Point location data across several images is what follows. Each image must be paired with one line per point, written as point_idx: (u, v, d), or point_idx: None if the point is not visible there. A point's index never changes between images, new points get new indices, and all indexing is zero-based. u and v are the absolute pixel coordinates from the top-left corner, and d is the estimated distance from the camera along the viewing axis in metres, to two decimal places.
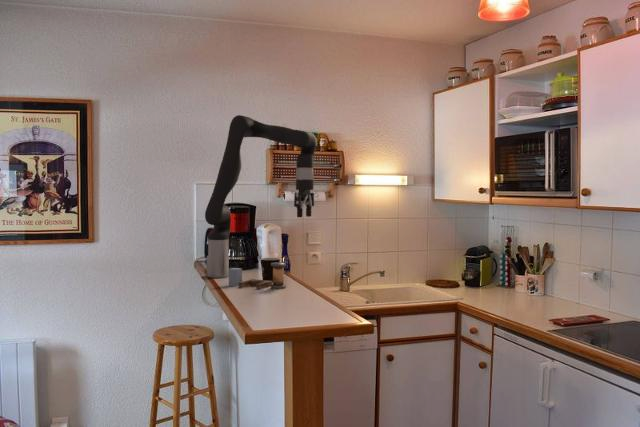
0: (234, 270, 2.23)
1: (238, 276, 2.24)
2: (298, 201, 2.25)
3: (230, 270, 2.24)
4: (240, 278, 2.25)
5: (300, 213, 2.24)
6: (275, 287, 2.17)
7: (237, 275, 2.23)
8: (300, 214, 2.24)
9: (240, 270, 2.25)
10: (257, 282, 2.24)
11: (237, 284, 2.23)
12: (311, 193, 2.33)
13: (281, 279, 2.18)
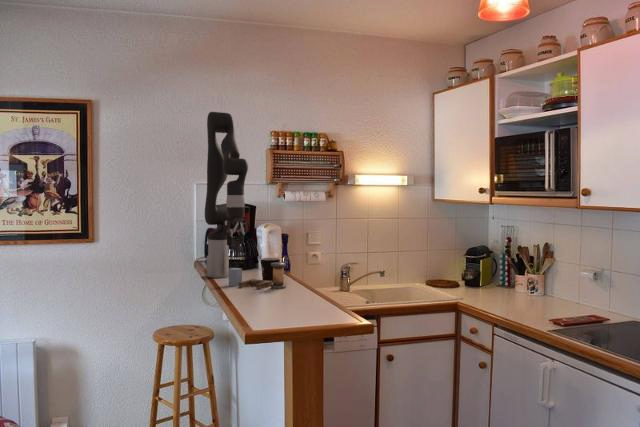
0: (234, 270, 2.23)
1: (238, 276, 2.24)
2: None
3: (230, 270, 2.24)
4: (240, 278, 2.25)
5: (230, 241, 2.20)
6: (275, 287, 2.17)
7: (237, 275, 2.23)
8: (230, 242, 2.20)
9: (240, 270, 2.25)
10: (257, 282, 2.24)
11: (237, 284, 2.23)
12: (244, 220, 2.29)
13: (281, 279, 2.18)
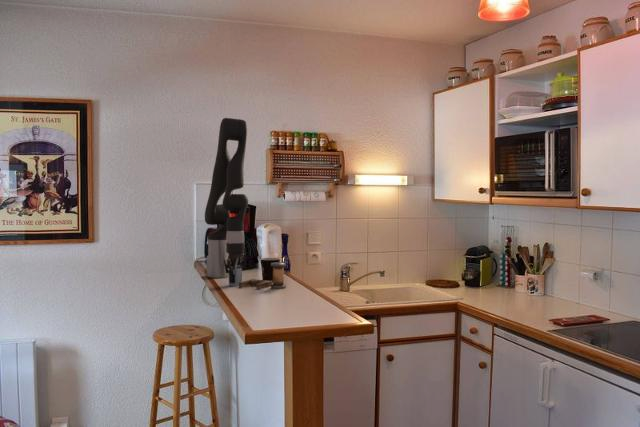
0: None
1: (238, 276, 2.24)
2: None
3: None
4: (240, 278, 2.25)
5: (232, 279, 2.22)
6: (275, 287, 2.17)
7: (237, 275, 2.23)
8: (232, 280, 2.22)
9: (240, 270, 2.25)
10: (257, 282, 2.24)
11: (237, 284, 2.23)
12: (243, 257, 2.30)
13: (281, 279, 2.18)
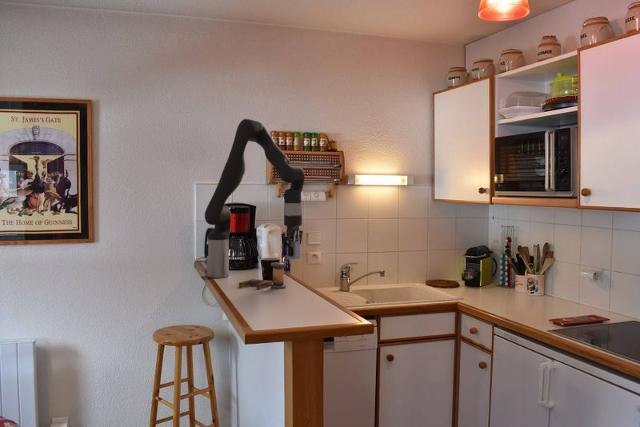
0: None
1: (297, 249, 2.21)
2: None
3: None
4: (298, 251, 2.22)
5: (291, 252, 2.19)
6: (275, 287, 2.17)
7: (295, 248, 2.20)
8: (291, 253, 2.19)
9: (298, 243, 2.22)
10: (257, 282, 2.24)
11: (296, 257, 2.20)
12: (300, 231, 2.27)
13: (281, 279, 2.18)
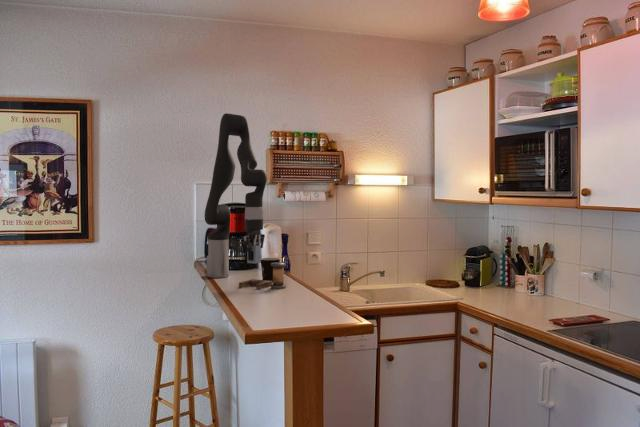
0: None
1: (257, 253, 2.19)
2: None
3: None
4: (259, 255, 2.20)
5: (251, 256, 2.17)
6: (275, 287, 2.17)
7: (256, 252, 2.18)
8: (251, 257, 2.17)
9: (259, 247, 2.20)
10: (257, 282, 2.24)
11: (256, 261, 2.18)
12: (262, 234, 2.25)
13: (281, 279, 2.18)
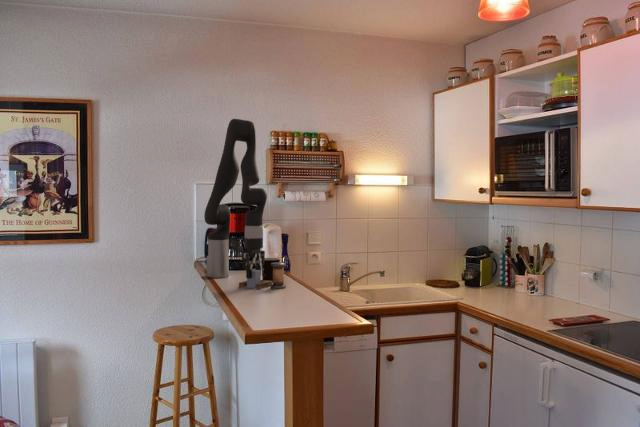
0: (253, 272, 2.18)
1: (257, 278, 2.19)
2: None
3: None
4: (259, 280, 2.21)
5: (249, 274, 2.16)
6: (275, 287, 2.17)
7: (256, 277, 2.18)
8: (249, 275, 2.16)
9: (259, 272, 2.20)
10: None
11: None
12: (262, 251, 2.25)
13: (281, 279, 2.18)
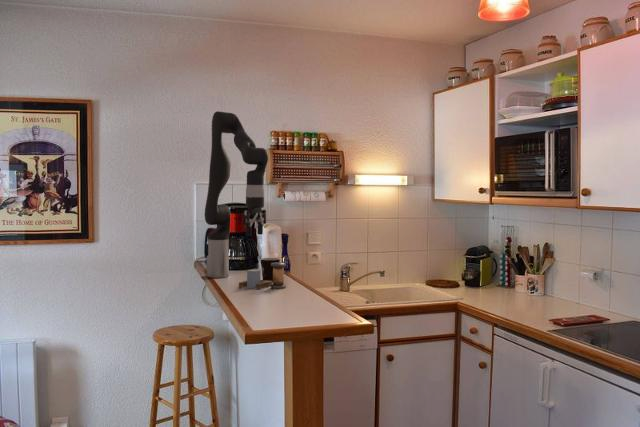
0: (253, 272, 2.18)
1: (257, 278, 2.19)
2: None
3: (249, 272, 2.19)
4: (259, 280, 2.21)
5: (249, 232, 2.17)
6: (275, 287, 2.17)
7: (256, 277, 2.18)
8: (249, 233, 2.17)
9: (259, 272, 2.20)
10: None
11: None
12: (263, 210, 2.27)
13: (281, 279, 2.18)
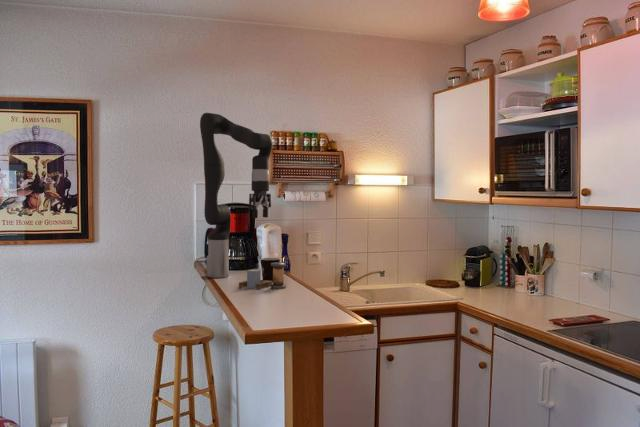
0: (253, 272, 2.18)
1: (257, 278, 2.19)
2: None
3: (249, 272, 2.19)
4: (259, 280, 2.21)
5: (255, 214, 2.26)
6: (275, 287, 2.17)
7: (256, 277, 2.18)
8: (255, 215, 2.26)
9: (259, 272, 2.20)
10: None
11: None
12: (268, 194, 2.35)
13: (281, 279, 2.18)
